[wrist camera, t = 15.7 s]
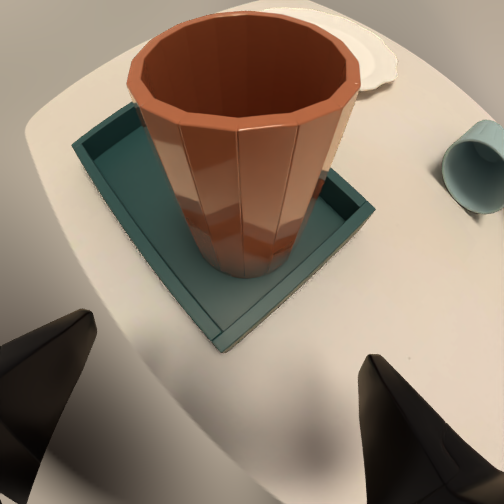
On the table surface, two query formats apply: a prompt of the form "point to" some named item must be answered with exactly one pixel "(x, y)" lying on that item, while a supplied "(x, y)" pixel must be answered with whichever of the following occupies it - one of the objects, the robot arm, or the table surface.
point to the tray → (182, 245)
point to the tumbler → (245, 128)
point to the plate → (353, 44)
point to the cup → (477, 168)
